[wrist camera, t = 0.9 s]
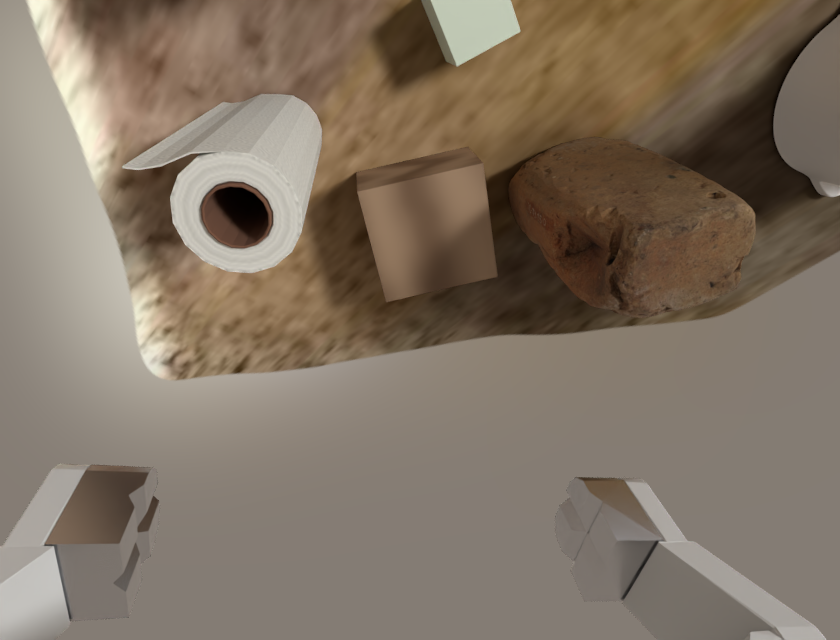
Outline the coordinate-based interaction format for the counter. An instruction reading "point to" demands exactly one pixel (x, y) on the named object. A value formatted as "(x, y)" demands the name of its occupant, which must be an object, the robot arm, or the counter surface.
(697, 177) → the block
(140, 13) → the counter surface
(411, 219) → the walnut block
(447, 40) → the green cube
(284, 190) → the paper towel roll
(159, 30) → the counter surface
